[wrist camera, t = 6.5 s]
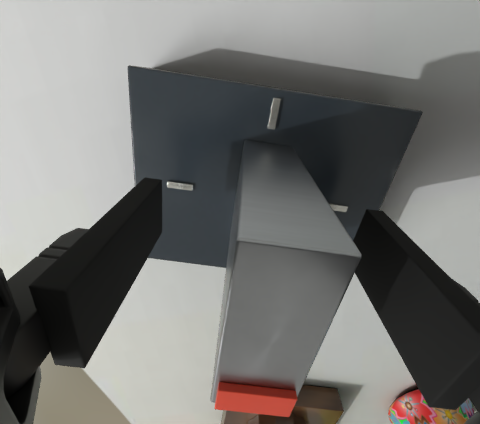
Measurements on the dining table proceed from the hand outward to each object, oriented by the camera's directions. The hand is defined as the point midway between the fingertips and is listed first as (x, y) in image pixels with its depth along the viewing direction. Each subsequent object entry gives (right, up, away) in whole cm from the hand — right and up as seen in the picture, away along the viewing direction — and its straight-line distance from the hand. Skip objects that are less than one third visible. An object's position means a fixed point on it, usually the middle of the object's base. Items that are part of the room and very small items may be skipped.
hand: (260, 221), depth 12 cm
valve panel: (0, +3, +5) cm, 6 cm away
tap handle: (0, +1, +3) cm, 3 cm away
